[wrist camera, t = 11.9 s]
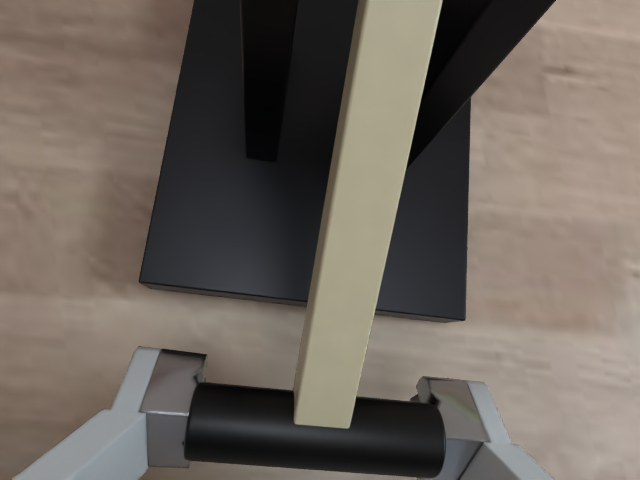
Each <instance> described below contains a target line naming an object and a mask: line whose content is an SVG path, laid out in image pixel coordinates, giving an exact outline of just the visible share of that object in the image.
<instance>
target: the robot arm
mask: <svg viewBox="0 0 640 480" xmlns="http://www.w3.org/2000/svg"><path fill="white" fill-rule="evenodd" d="M207 358H208V355H207V354H200V353H192V352H184V351H176V350H169V349H159V348H151V347H142V346H138V348H137V349H136V350H135V351H134V353H133V356H132V358H131V361H130V363H129V365H128V368H127V370H126V373H125V375H124V377H123V380H122V382H121V384H120V387H119V389H118V392H117V394H116V396H115V399H114V401H113V404H112V406H111V408H110V410H108V409H102V410H101V411H100V412H98V413H97V414H96V415H94V416H93V417H92V418H91V419H89V420H88V421H87V422H85V423H84V424H83V425H81V426H80V427H79V428H78V429H76V430H75V431H74V432H72V433H71V434H70V435H68V436H67V437H66V438H65V439H63V440H62V441H61V442H59V443H58V444H57V445H55V446H54V447H53V448H52V449H50V450H49V451H48V452H46V453H45V454H44V455H42V456H41V457H40V458H39V459H37V460H36V461H35V462H33V463H32V464H31V465H29V466H28V467H27V468H26V469H24V470H23V471H22V472H20V473H19V474H18V475H16V476H15V477H14V478H13V479H11V480H138V479H139V478H140V477H141V476H142V475H143V474H144V473H145V472H146V471H147V470H148V466H152V467H175V468H189V466H190V462H191V461H188V460H186V459H185V458H184V439H185V431H186V424H187V419H188V415H189V408H190V404H191V400H192V396H193V392H194V389H195V387H196V385H198V383H200V382H206V378H205V373H206V368H207ZM416 388H417V392H418V394H417V395H415V396H414V397H412V398H411V399H410V401H411V402H421V403H431V404H433V405H435V406H436V407H437V408H438V409H439V411H440V413H441V415H442V418H443V422H444V427H445V434H446V454H445V460H444V465H443V468H442V470H441V472H440V474H439V475H438V476H437V477H435V478H419V477H417V480H555V479H554V478H553V477H552V476H551V475H550V474H548V473H547V472H546V471H545V470H544V469H543V468H542V467H541V466H540V465H539V464H538V463H537V462H536V461H535V460H534V459H533V458H532V457H531V456H530V455H529V454H527V453H526V452H525V451H524V450H523V449H522V448H521V447H520V446H519V445H514V444H512V442H511V440H510V437H509V435H508V433H507V430H506V428H505V426H504V423H503V421H502V419H501V416H500V414H499V412H498V409H497V407H496V405H495V402H494V400H493V398H492V395H491V393H490V391H489V388H488V386H487V385H486V384H485V383H484V382H477V381H467V380H460V379H449V378H438V377H427V376H423V377H422V378H420V379H419V381H418V383H417V385H416Z"/></svg>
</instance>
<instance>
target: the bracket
mask: <svg viewBox="0 0 640 480" xmlns="http://www.w3.org/2000/svg"><path fill="white" fill-rule="evenodd" d="M555 1H556V0H443V2H442V6H441V11H440V15H439V20H438V25H437V29H436V34H435V38H434V43H433V47H432V52H431V57H430V61H429V66H428V70H427V75H426V80H425V84H424V89H423V93H422V98H421V102H420V107H419V112H418V116H417V121H416V125H415V130H414V135H413V139H412V144H411V148H410V153H409V158H408V162H407V167H406V171H405V176H404V180H403V185H402V190H401V194H400V199H399V203H398V208H397V213H396V217H395V222H394V226H393V231H392V235H391V240H390V245H389V249H388V254H387V258H386V263H385V268H384V272H383V277H382V281H381V286H380V290H379V295H378V300H377V304H376V309H375V313H374V315H383V316H392V317H400V318H409V319H418V320H426V321H435V322H444V323H447V322H457V321H464V320H465V315H466V274H467V233H468V192H469V151H470V110H471V96H472V95H473V94H474V93H475V92H476V90H477V89H478V88H479V87H480V86H481V85H482V84H483V82H484V81H485V80H486V79H487V78H488V77H489V76H490V75H491V73H492V72H493V71H494V70H495V69H496V68H497V67H498V65H499V64H500V63H501V62H502V61H503V60H504V59H505V58H506V56H507V55H508V54H509V53H510V52H511V51H512V50H513V48H514V47H515V46H516V45H517V44H518V43H519V42H520V41H521V39H522V38H523V37H524V36H525V35H526V34H527V33H528V31H529V30H530V29H531V28H532V27H533V26H534V25H535V24H536V22H537V21H538V20H539V19H540V18H541V17H542V16H543V14H544V13H545V12H546V11H547V10H548V9H549V8H550V6H551V5H552V4H553V3H554V2H555ZM357 6H358V0H194V5H193V10H192V15H191V20H190V25H189V30H188V35H187V40H186V45H185V50H184V55H183V60H182V65H181V70H180V75H179V80H178V85H177V90H176V95H175V100H174V105H173V110H172V116H171V121H170V126H169V131H168V136H167V141H166V146H165V151H164V156H163V161H162V166H161V171H160V176H159V181H158V186H157V191H156V196H155V201H154V206H153V211H152V216H151V221H150V226H149V231H148V237H147V242H146V247H145V252H144V257H143V262H142V267H141V272H140V277H139V283H141V284H143V285H145V286H147V287H149V288H150V289H157V290H166V291H175V292H183V293H192V294H201V295H209V296H218V297H227V298H235V299H244V300H253V301H262V302H270V303H279V304H288V305H296V306H305V307H307V303H308V297H309V292H310V286H311V280H312V274H313V268H314V262H315V256H316V250H317V244H318V238H319V232H320V226H321V220H322V214H323V208H324V202H325V196H326V190H327V185H328V179H329V173H330V167H331V161H332V155H333V149H334V143H335V137H336V131H337V125H338V119H339V113H340V107H341V101H342V95H343V89H344V83H345V77H346V72H347V66H348V60H349V54H350V48H351V42H352V36H353V30H354V24H355V18H356V12H357Z"/></svg>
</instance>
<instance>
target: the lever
mask: <svg viewBox="0 0 640 480" xmlns="http://www.w3.org/2000/svg"><path fill="white" fill-rule="evenodd" d="M442 2H443V0H358V6H357V12H356V18H355V24H354V30H353V36H352V42H351V48H350V54H349V60H348V66H347V72H346V77H345V83H344V89H343V95H342V101H341V107H340V113H339V119H338V125H337V131H336V137H335V143H334V149H333V155H332V161H331V167H330V173H329V179H328V185H327V190H326V196H325V202H324V208H323V214H322V220H321V226H320V232H319V238H318V244H317V250H316V256H315V262H314V268H313V274H312V280H311V286H310V292H309V297H308V303H307V309H306V315H305V321H304V327H303V333H302V339H301V345H300V351H299V357H298V363H297V369H296V375H295V381H294V387H293V390H282V389H271V388H261V387H250V386H239V385H228V384H218V383H207V382H200V383H198V385H196V387H195V389H194V392H193V396H192V400H191V404H190V408H189V415H188V419H187V424H186V431H185V439H184V458H185V459H186V460H188V461H201V462H215V463H228V464H242V465H256V466H269V467H283V468H297V469H310V470H324V471H338V472H351V473H365V474H378V475H392V476H406V477H419V478H435V477H437V476H438V475H439V474H440V472H441V470H442V468H443V465H444V460H445V454H446V434H445V427H444V422H443V418H442V415H441V413H440V411H439V409H438V408H437V407H436V406H435V405H433V404H431V403H421V402H411V401H400V400H389V399H379V398H368V397H357V391H358V387H359V382H360V378H361V373H362V368H363V364H364V359H365V355H366V350H367V345H368V341H369V336H370V332H371V327H372V323H373V318H374V313H375V309H376V304H377V300H378V295H379V290H380V286H381V281H382V277H383V272H384V268H385V263H386V258H387V254H388V249H389V245H390V240H391V235H392V231H393V226H394V222H395V217H396V213H397V208H398V203H399V199H400V194H401V190H402V185H403V180H404V176H405V171H406V167H407V162H408V158H409V153H410V148H411V144H412V139H413V135H414V130H415V125H416V121H417V116H418V112H419V107H420V102H421V98H422V93H423V89H424V84H425V80H426V75H427V70H428V66H429V61H430V57H431V52H432V47H433V43H434V38H435V34H436V29H437V25H438V20H439V15H440V11H441V6H442Z"/></svg>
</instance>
